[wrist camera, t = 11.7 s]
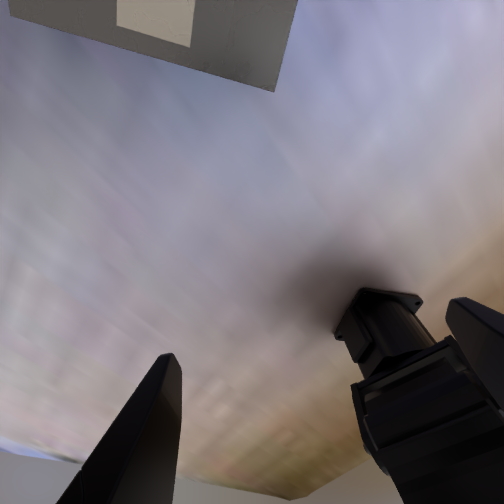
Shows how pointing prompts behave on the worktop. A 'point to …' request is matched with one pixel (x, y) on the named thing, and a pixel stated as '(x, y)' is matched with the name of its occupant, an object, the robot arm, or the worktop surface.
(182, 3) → the plate
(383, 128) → the worktop surface
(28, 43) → the worktop surface
